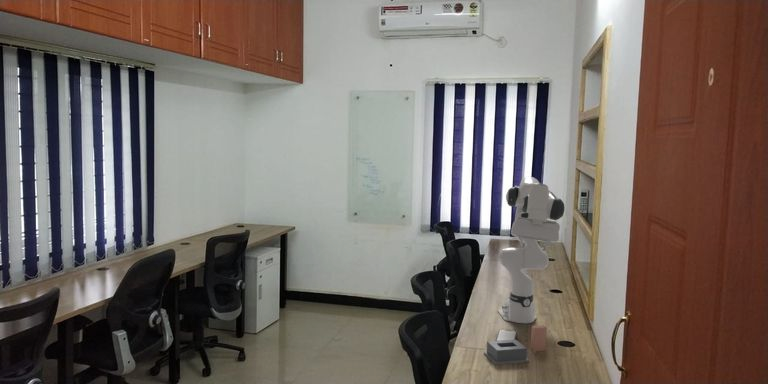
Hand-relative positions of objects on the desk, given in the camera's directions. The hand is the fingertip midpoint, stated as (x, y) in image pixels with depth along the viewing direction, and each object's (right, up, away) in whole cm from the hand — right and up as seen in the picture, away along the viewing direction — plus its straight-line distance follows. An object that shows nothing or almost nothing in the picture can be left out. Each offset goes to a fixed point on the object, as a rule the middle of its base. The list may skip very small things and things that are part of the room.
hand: (533, 249), depth 230 cm
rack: (-10, -49, +7) cm, 51 cm away
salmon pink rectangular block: (+7, -49, +17) cm, 52 cm away
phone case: (-5, -47, +31) cm, 57 cm away
